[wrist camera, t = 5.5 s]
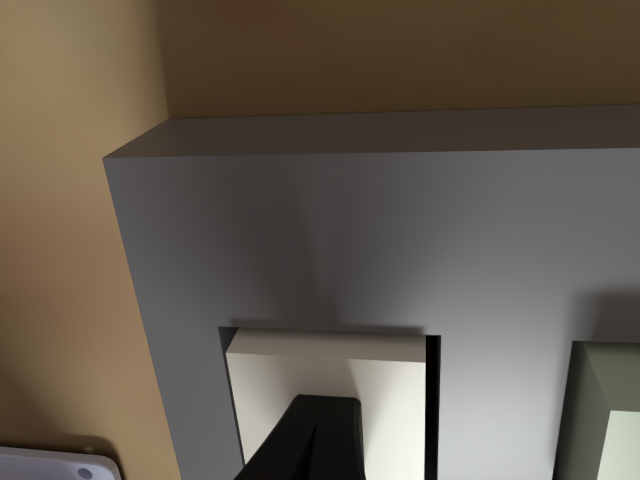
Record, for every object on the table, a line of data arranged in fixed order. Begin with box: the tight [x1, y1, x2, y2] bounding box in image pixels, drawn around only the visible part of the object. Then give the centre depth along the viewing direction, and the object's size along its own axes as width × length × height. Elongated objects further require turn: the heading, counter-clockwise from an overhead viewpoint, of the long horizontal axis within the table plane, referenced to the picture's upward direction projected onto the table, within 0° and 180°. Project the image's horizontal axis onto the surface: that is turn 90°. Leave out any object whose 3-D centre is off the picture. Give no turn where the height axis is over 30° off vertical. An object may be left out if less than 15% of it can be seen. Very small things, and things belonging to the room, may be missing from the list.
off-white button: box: [226, 327, 426, 480], centre depth 13 cm, size 4×4×3 cm
